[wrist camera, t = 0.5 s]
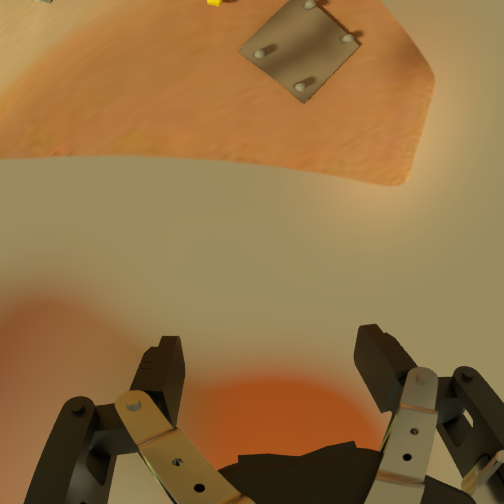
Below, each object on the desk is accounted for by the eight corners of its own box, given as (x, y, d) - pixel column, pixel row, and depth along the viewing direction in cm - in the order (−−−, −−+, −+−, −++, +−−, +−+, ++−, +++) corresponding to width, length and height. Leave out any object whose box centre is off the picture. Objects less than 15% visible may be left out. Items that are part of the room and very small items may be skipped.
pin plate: (237, 51, 28) (239, 49, 25) (296, -6, 24) (303, -13, 21) (301, 103, 32) (309, 105, 29) (355, 46, 28) (366, 45, 26)
